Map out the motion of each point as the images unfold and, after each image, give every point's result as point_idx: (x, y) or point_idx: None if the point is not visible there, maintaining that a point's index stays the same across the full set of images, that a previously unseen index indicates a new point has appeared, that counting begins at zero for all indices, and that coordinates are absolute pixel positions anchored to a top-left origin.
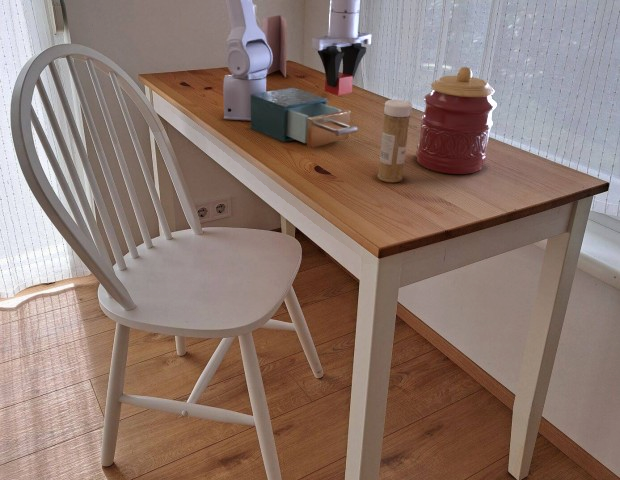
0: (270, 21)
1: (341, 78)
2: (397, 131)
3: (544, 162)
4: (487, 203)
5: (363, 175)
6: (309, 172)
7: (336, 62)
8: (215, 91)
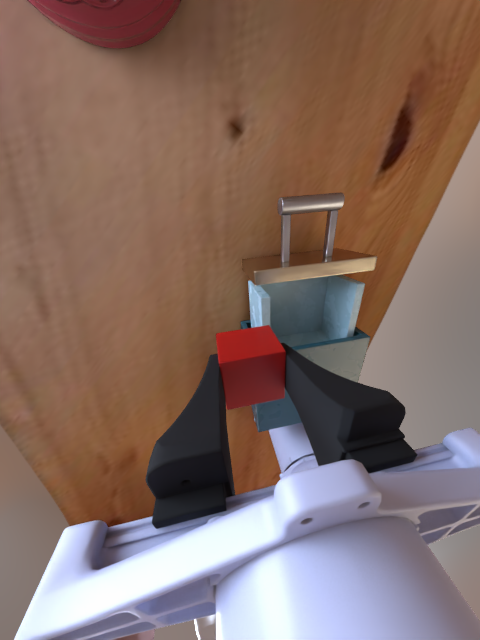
0: None
1: (274, 351)
2: None
3: None
4: None
5: (367, 36)
6: (417, 148)
7: (343, 381)
8: (254, 485)
